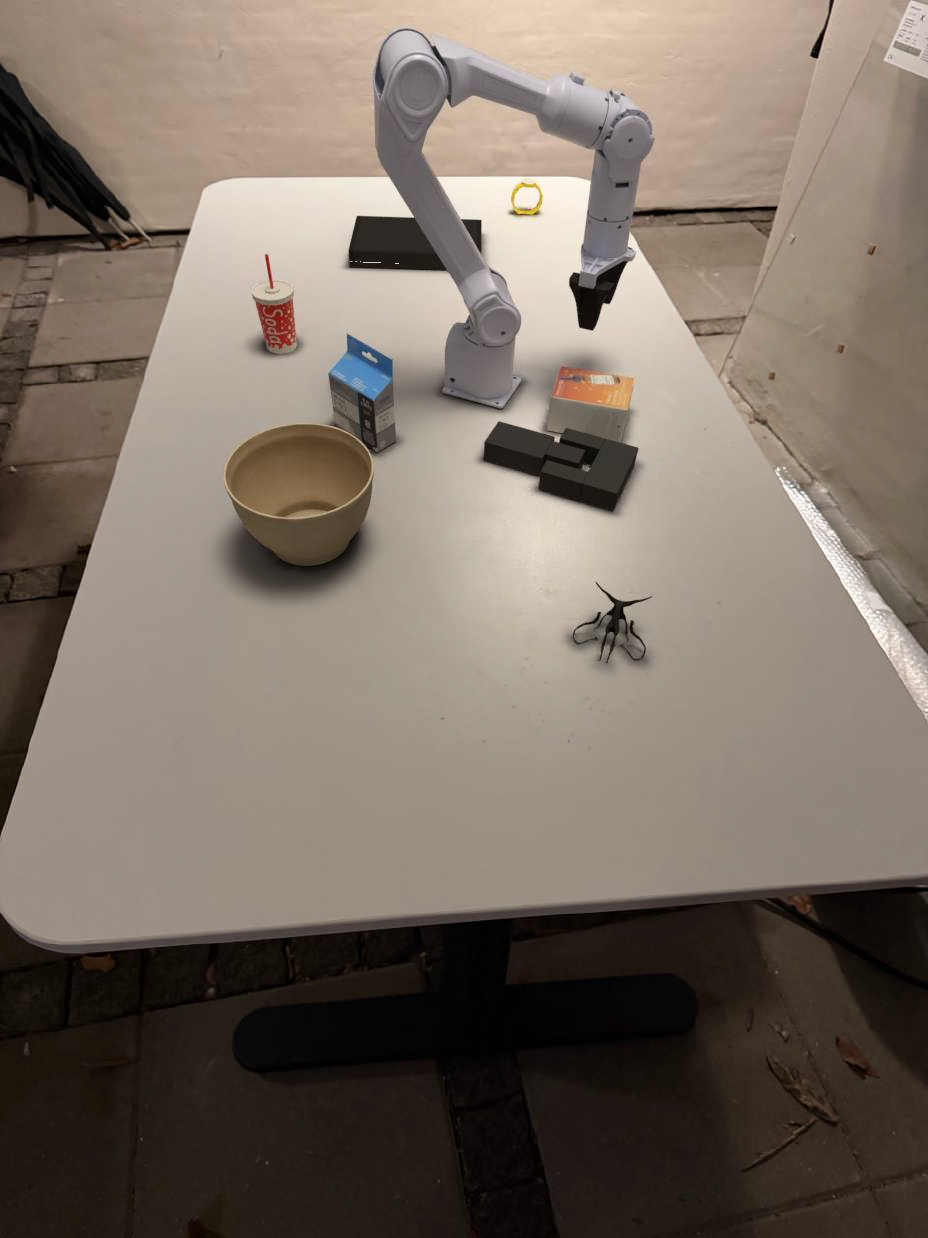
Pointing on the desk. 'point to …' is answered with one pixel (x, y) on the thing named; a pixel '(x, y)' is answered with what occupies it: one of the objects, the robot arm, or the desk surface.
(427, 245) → the black electronic device box
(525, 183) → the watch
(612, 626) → the creature
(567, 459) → the pad
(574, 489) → the notch pad
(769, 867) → the desk surface
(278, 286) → the beverage cup
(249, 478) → the planter bowl
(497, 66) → the robot arm
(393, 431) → the ink cartridge box
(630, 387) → the small box
